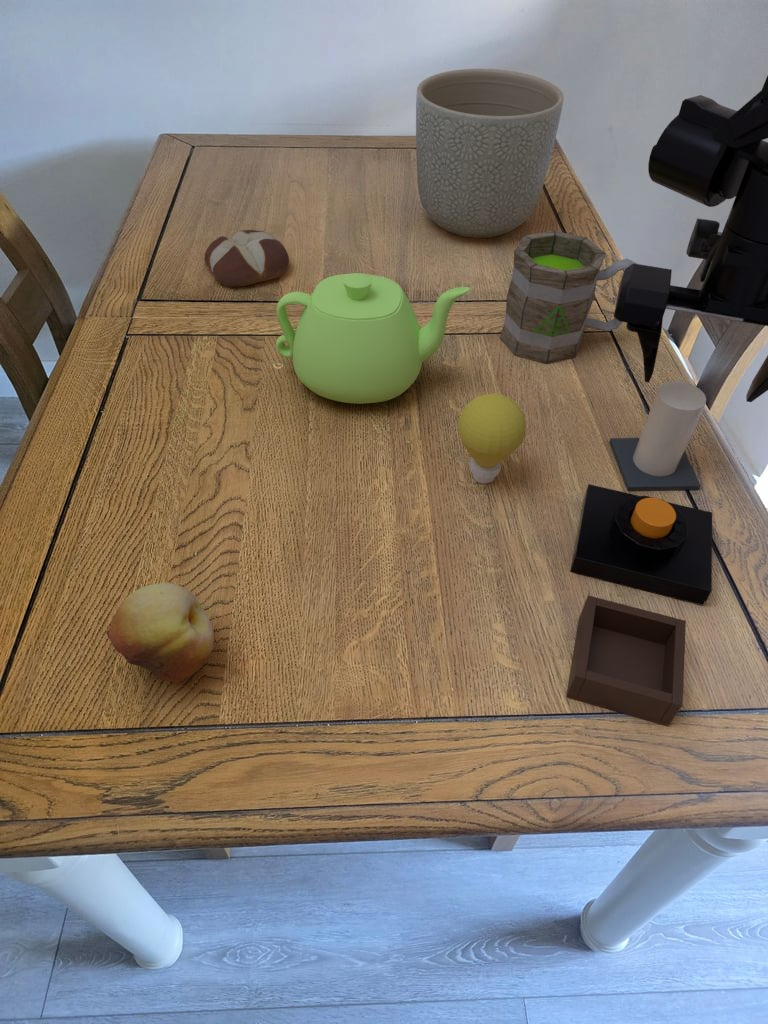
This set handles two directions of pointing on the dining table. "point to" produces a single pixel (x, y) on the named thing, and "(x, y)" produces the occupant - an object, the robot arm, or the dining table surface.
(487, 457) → the light bulb
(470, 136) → the planter
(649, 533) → the button
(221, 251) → the bread
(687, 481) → the mat
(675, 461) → the canister
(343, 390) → the teapot
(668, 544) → the base
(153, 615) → the fruit
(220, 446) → the dining table surface
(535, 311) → the mug
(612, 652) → the holder
